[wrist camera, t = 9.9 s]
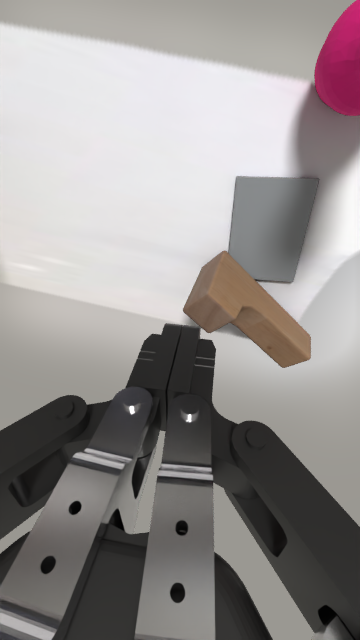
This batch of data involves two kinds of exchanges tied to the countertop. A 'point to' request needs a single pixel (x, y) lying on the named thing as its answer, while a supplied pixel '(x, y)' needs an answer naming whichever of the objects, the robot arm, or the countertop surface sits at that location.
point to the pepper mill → (341, 64)
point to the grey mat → (270, 224)
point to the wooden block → (246, 311)
